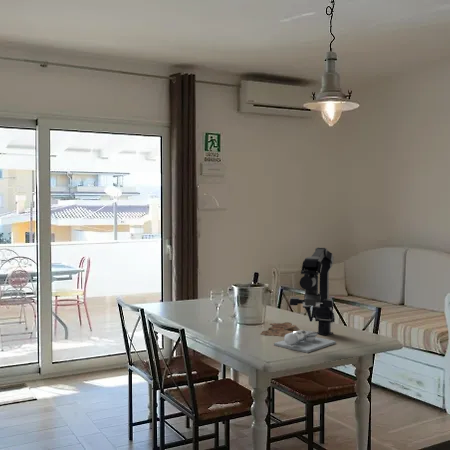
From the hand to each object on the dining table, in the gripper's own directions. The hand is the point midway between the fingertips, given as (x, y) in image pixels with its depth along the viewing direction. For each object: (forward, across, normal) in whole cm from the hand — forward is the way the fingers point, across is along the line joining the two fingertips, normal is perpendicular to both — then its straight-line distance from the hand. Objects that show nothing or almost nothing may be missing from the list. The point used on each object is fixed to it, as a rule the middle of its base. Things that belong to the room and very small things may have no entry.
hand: (311, 321), depth 247 cm
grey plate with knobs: (+12, -3, +5) cm, 13 cm away
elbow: (+10, -3, +6) cm, 12 cm away
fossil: (+12, -18, +26) cm, 33 cm away
